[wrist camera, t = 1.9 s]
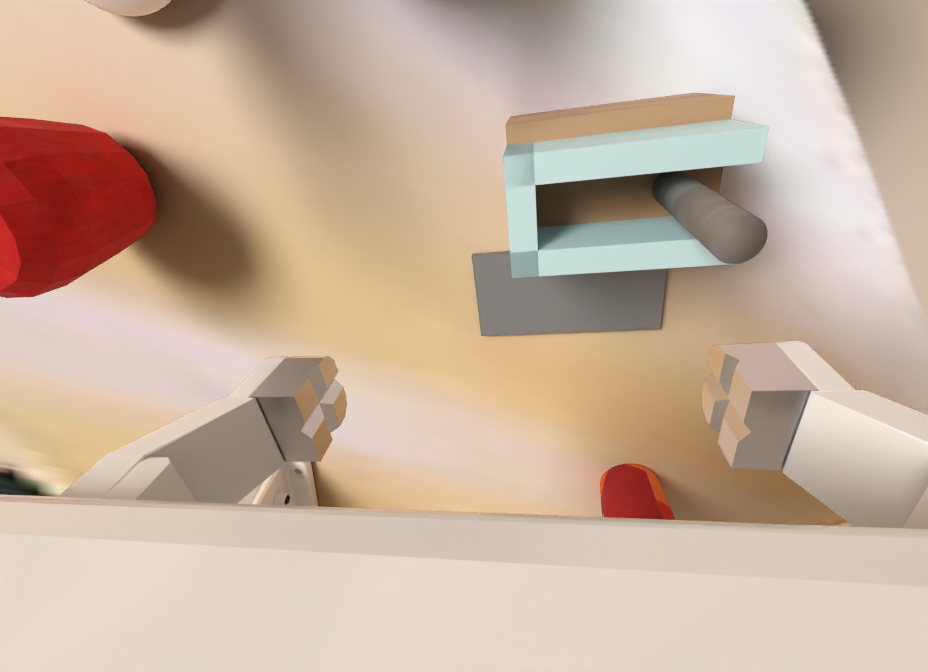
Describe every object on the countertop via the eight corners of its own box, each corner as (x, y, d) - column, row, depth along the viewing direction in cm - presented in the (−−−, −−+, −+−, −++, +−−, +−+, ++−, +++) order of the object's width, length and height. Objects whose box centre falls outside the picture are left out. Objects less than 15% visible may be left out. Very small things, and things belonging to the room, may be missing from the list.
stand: (677, 224, 30) (788, 333, 17) (517, 237, 32) (509, 343, 19) (694, 92, 26) (855, 105, 13) (510, 116, 28) (492, 147, 15)
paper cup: (575, 494, 45) (592, 645, 33) (612, 445, 41) (647, 597, 29) (644, 518, 45) (685, 675, 33) (687, 472, 41) (752, 632, 29)
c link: (514, 252, 26) (511, 277, 23) (507, 145, 23) (503, 156, 20) (711, 237, 24) (740, 263, 21) (730, 119, 21) (769, 126, 18)
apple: (126, 262, 37) (-56, 344, 26) (26, 146, 33) (-244, 182, 22) (211, 215, 34) (47, 284, 22) (113, 78, 30) (-153, 77, 18)
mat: (658, 325, 34) (659, 329, 33) (481, 333, 36) (481, 336, 36) (668, 239, 30) (670, 241, 30) (472, 253, 33) (471, 256, 32)
